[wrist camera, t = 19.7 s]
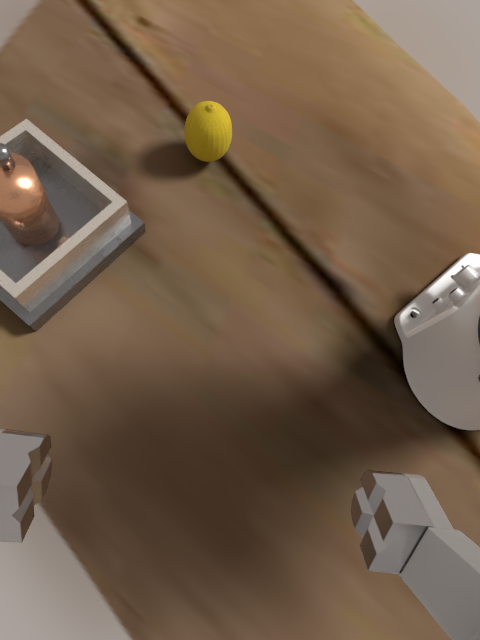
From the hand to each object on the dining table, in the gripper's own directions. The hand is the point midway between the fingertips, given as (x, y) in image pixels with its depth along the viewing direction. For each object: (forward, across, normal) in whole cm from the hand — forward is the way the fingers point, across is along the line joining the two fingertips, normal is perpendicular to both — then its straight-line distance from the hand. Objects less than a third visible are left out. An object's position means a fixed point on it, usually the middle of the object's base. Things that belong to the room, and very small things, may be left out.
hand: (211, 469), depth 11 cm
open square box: (+37, +19, +7) cm, 42 cm away
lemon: (+48, +2, -3) cm, 48 cm away
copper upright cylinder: (+36, +19, +6) cm, 41 cm away
